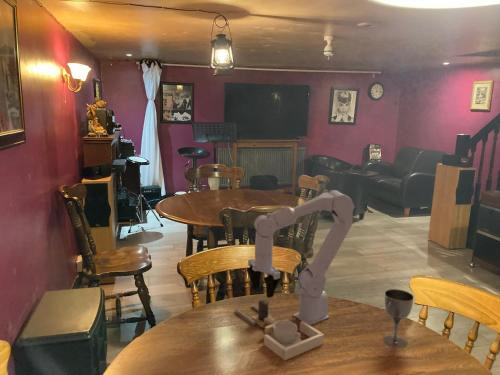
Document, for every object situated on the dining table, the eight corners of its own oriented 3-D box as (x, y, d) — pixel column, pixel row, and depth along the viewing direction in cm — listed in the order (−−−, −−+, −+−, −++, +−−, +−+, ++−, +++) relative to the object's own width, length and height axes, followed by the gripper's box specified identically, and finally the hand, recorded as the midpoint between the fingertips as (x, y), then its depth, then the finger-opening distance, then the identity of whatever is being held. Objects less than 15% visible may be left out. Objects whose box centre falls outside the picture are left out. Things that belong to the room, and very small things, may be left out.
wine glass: (385, 331, 128) (389, 286, 125) (411, 339, 123) (416, 293, 121) (377, 342, 121) (381, 295, 119) (405, 351, 117) (409, 303, 114)
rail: (253, 306, 143) (253, 303, 143) (272, 319, 134) (272, 316, 134) (235, 312, 139) (235, 309, 138) (253, 325, 130) (253, 322, 130)
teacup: (262, 343, 120) (263, 329, 119) (277, 328, 128) (277, 315, 128) (293, 353, 115) (294, 339, 114) (306, 337, 124) (306, 323, 123)
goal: (302, 329, 128) (302, 321, 127) (323, 343, 120) (324, 334, 120) (264, 344, 119) (264, 335, 119) (284, 360, 112) (285, 350, 111)
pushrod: (269, 313, 137) (270, 295, 136) (291, 328, 128) (292, 308, 127) (245, 321, 132) (245, 302, 130) (266, 338, 122) (267, 317, 121)
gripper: (240, 248, 132) (240, 287, 135) (268, 262, 121) (267, 304, 123) (257, 245, 137) (257, 282, 139) (285, 257, 125) (284, 298, 127)
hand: (262, 292), depth 131 cm, fingers open, 7 cm apart
